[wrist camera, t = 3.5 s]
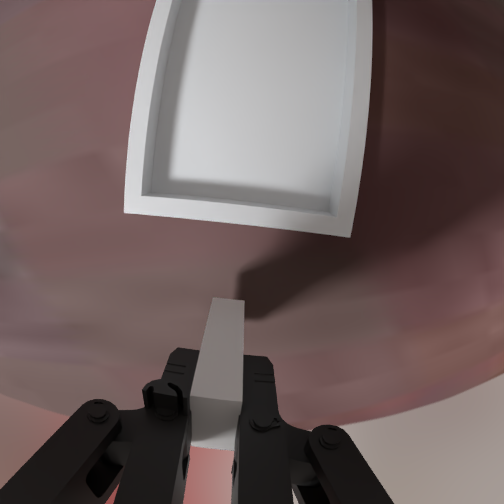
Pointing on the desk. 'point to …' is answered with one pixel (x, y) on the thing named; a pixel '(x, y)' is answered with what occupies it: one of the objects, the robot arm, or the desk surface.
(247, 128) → the white tray
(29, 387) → the desk surface
